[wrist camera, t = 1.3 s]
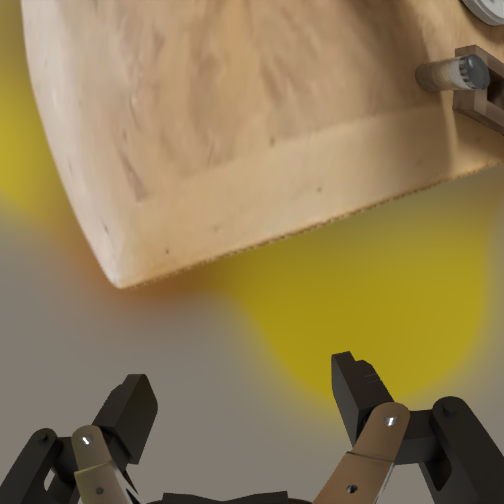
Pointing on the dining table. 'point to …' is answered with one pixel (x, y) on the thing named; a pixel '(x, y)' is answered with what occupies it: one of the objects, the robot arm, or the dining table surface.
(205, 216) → the dining table surface
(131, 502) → the robot arm
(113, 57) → the dining table surface
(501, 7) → the lid
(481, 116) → the socket block
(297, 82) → the dining table surface
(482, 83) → the pin
